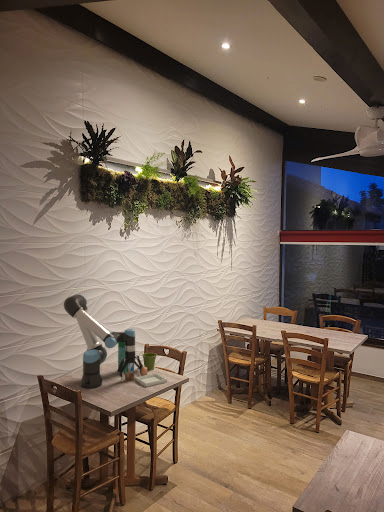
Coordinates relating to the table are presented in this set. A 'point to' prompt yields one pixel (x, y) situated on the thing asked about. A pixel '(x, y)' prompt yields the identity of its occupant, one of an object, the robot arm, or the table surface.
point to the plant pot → (149, 360)
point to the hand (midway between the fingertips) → (130, 379)
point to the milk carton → (122, 355)
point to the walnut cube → (129, 376)
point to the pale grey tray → (151, 379)
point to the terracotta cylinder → (143, 371)
